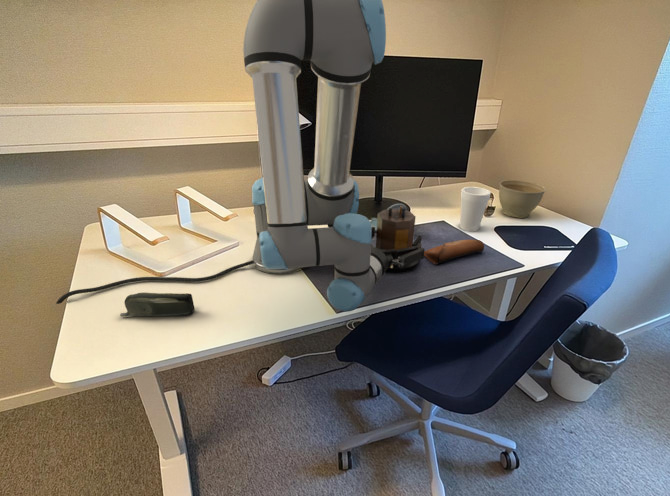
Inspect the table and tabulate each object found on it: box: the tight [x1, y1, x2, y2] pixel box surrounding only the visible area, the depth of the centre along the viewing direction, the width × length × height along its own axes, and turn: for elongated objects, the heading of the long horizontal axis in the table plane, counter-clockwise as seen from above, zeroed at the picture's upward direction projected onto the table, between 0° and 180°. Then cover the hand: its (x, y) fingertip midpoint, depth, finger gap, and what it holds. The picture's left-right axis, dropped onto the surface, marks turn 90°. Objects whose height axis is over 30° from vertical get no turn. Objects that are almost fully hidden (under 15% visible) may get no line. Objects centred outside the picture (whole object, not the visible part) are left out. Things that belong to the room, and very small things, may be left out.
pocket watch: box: [369, 202, 408, 233], centre depth 131 cm, size 10×11×15 cm
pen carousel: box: [375, 206, 417, 255], centre depth 109 cm, size 10×10×14 cm
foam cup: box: [459, 186, 492, 232], centre depth 134 cm, size 10×9×13 cm
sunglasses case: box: [424, 239, 485, 265], centre depth 118 cm, size 18×7×7 cm
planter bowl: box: [498, 179, 546, 219], centre depth 149 cm, size 16×16×11 cm
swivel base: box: [375, 246, 420, 274], centre depth 113 cm, size 15×15×2 cm
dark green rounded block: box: [119, 292, 195, 317], centre depth 86 cm, size 5×3×15 cm
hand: (396, 235), depth 110 cm, fingers open, 13 cm apart
